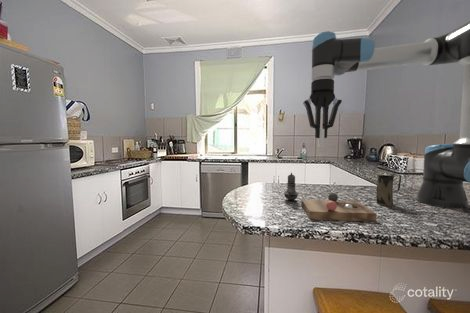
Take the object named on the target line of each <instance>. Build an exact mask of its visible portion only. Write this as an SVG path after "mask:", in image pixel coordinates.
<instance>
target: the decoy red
mask: <svg viewBox="0 0 470 313" xmlns="http://www.w3.org/2000/svg"><path fill="white" fill-rule="evenodd" d="M326 207H327V209H328V210H330V211H334V210H336V208H337V204H336V203H335V202H334V201H328V202H327V203H326Z"/></svg>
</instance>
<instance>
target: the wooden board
mask: <svg viewBox="0 0 470 313" xmlns="http://www.w3.org/2000/svg"><path fill="white" fill-rule="evenodd" d="M300 201H301V203H300V204H301V205H300V206H301V208H302V210H303V211H304V213H305V214H306V216H307V217H308V219H309V220H320V221H321V220H326V221H327V220H329V221H350V222H351V221H354V222H377V214H378V213H376V212H375V211H373V210H372V209H370V208H369V207H367V206H365V205H364V204H362V203H361V202H359V201H357V200H337V201H335V203H336V204H337V208H336V210H334V211H330V210H328V209H327V207H326V203H327V202H328V201H330V200H329V199H328V200H326V199H324V200H323V199H301V200H300ZM346 204H350V205H352V206H353V208H347V207H344V206H345V205H346Z"/></svg>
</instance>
